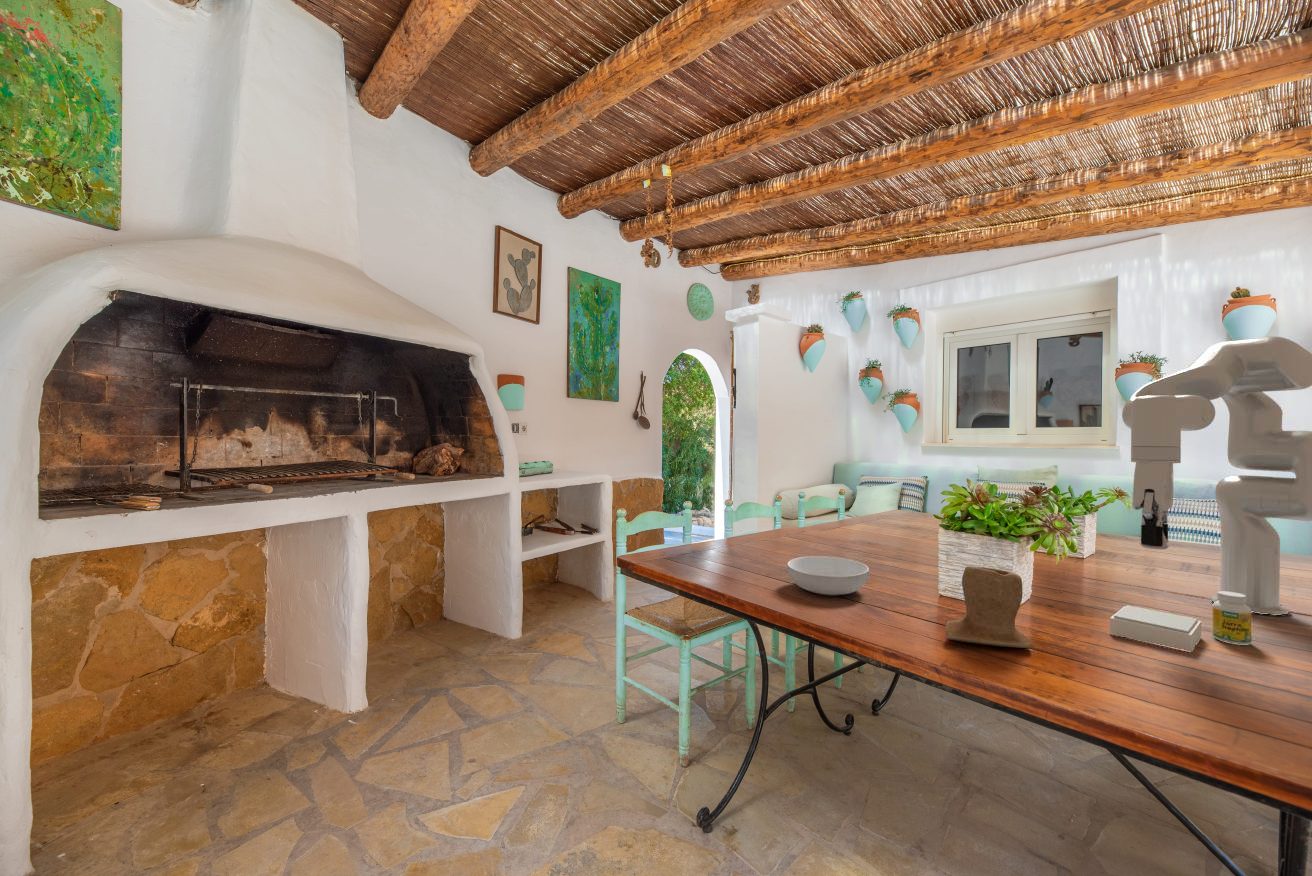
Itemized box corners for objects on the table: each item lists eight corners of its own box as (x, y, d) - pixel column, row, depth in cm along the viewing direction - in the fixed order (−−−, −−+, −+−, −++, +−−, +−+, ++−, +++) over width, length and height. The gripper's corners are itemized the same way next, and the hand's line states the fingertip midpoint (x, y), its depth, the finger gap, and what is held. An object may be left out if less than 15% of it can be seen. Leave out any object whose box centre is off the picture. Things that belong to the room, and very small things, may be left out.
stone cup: (1018, 634, 111) (1018, 563, 111) (1037, 657, 100) (1038, 578, 100) (937, 626, 116) (937, 557, 116) (946, 646, 105) (947, 571, 105)
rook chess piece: (1138, 544, 114) (1139, 506, 113) (1168, 547, 111) (1168, 508, 111) (1140, 547, 110) (1140, 509, 110) (1170, 550, 107) (1170, 511, 107)
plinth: (1124, 621, 119) (1124, 604, 118) (1201, 638, 109) (1201, 618, 109) (1110, 634, 111) (1110, 615, 111) (1191, 653, 102) (1191, 632, 102)
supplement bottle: (1244, 639, 109) (1244, 592, 109) (1256, 648, 104) (1257, 599, 104) (1207, 634, 111) (1208, 588, 111) (1218, 643, 107) (1219, 595, 107)
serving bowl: (771, 585, 148) (771, 560, 148) (829, 576, 157) (829, 553, 157) (824, 607, 129) (824, 579, 129) (887, 596, 138) (887, 569, 138)
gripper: (1140, 453, 118) (1140, 536, 118) (1120, 456, 108) (1120, 546, 108) (1188, 454, 112) (1187, 541, 112) (1171, 457, 102) (1171, 552, 102)
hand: (1154, 542), depth 110 cm, fingers closed on rook chess piece, 4 cm apart
